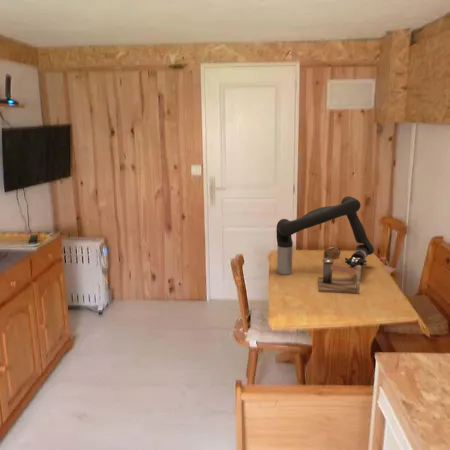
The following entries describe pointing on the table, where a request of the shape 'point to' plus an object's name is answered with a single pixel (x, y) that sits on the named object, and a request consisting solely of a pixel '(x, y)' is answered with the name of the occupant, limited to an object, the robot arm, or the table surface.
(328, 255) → the tin
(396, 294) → the table surface
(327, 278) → the capstan
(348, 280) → the base
